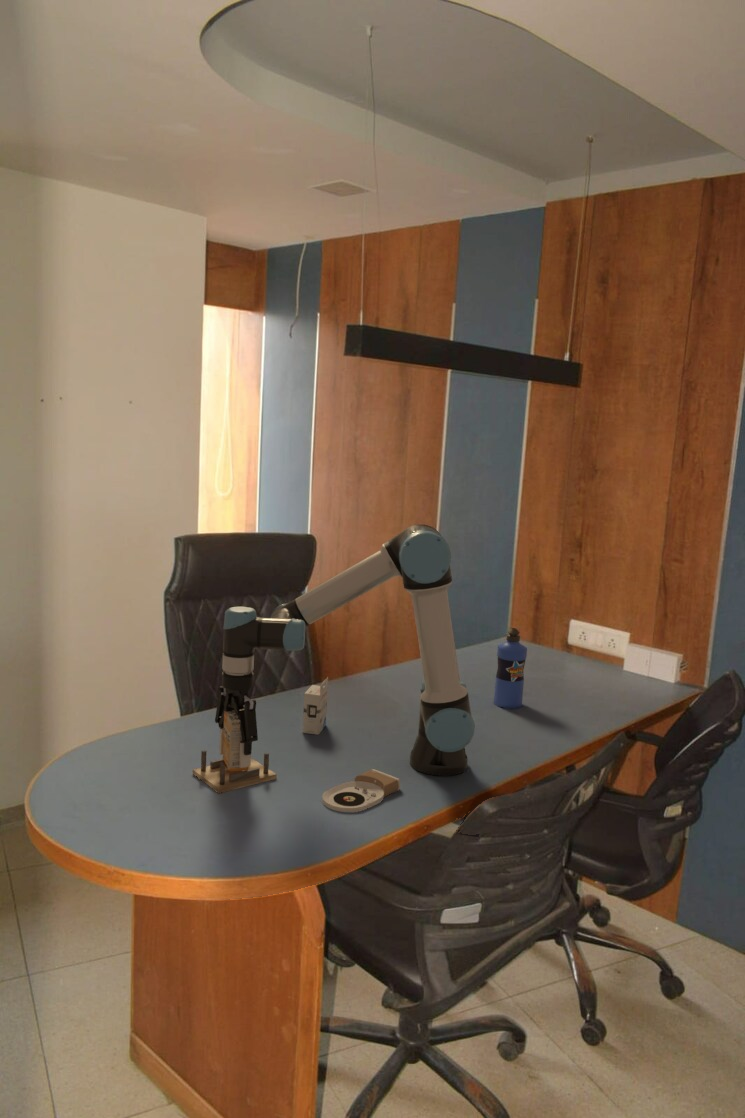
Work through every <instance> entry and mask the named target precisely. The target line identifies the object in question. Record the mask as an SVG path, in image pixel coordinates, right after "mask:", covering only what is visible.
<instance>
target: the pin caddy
mask: <svg viewBox="0 0 745 1118" xmlns="http://www.w3.org/2000/svg"><path fill="white" fill-rule="evenodd" d="M200 756H201V757H200V761H201V762H200V767H198V768H195V769H192V775H193V774H194V775H195V777H196V776H197V777H198V778H197V777H196V778H197V779H198V780H200V779H201V780H202V781H201V780H200V781H201V782H203V781H204V782H205V783H206V784H205V783H204V782H203V783H204V784H205V785H207V784H208V785H209V786H210V789H212V788H213V789H212V790H213V791H215V790H216V791H217V792H216V791H215V792H216V793H218V794H222V793H226V792H229V791H233V790H238V789H242V788H245V787H249V786H254V785H257V784H262V783H265V782H269V781H273V780H277V773H275V771H272V770H271V769H269V764H270V763H269V761H270V753H269V752H264V754H263V764H261V763H260V762H258V761H257V760H255V759H254V758H252V757H251V766H248V770H243V771H233V772H229V770H228V767H227V765H226V763H225V762H224V760H223V758H220V759H214V760H210V765H207V750H201V755H200ZM194 775H193V776H194ZM208 785H207V786H208ZM209 786H208V787H209ZM221 792H222V793H221Z"/></svg>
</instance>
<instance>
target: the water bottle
mask: <svg viewBox="0 0 745 1118" xmlns="http://www.w3.org/2000/svg"><path fill="white" fill-rule="evenodd" d="M507 633H508V634H506V637H505V639H506V641H505V642H502V643H499V644H497V648H496V649H497V652H496V653H497V654H496V656H497V670H496V674H495V680H494V681H495V682H494V693H493V694H494V695H493V705H495V706H496V705H497V706H496V707H498V706H499V707H498V708H501V707H503V708H502V709H507V708H510V709H509V710H513V709H514V708H516V709H519V708H522V706H523V696H524V687H525V686H524V684H525V678H524V677H525V676H524V675H525V674H524V669H525V664H526V659H527V656H528V647H526V646H525V645H524V644H521V642H520V641H521V635H520V633H521V632H520V630H518V629H517V628H514V627H511V628H510V629H509V630H508V631H507ZM512 708H513V709H512ZM514 710H515V709H514Z"/></svg>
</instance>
